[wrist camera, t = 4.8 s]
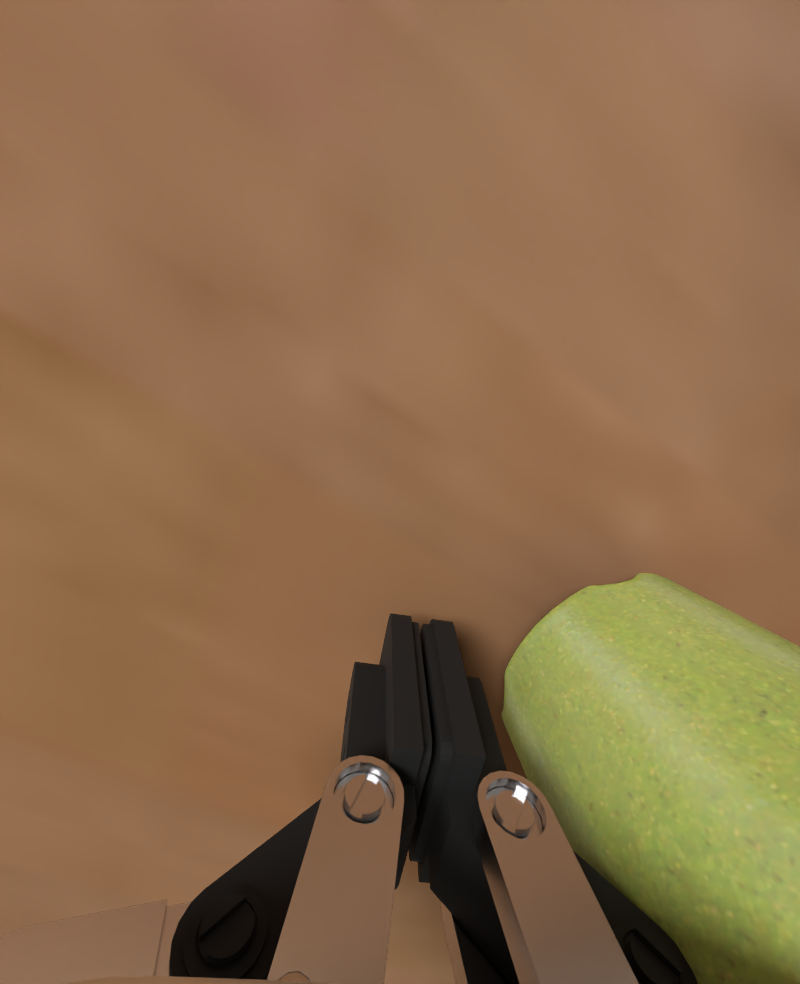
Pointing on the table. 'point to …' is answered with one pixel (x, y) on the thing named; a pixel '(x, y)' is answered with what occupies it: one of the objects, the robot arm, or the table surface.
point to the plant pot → (672, 765)
